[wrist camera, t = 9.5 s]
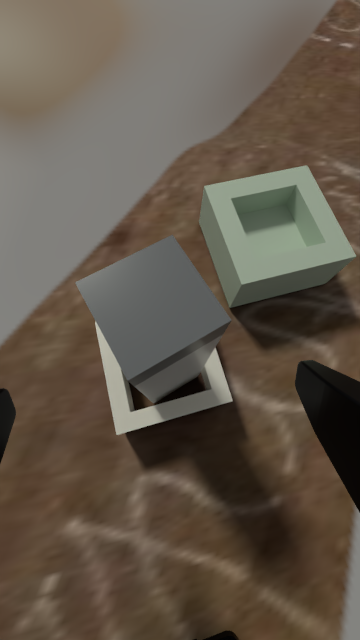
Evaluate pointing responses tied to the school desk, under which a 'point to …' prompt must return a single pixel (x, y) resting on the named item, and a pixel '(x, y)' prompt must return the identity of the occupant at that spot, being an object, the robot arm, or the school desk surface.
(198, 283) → the plug
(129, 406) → the low collar
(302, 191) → the raised socket
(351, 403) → the robot arm
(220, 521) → the school desk surface
